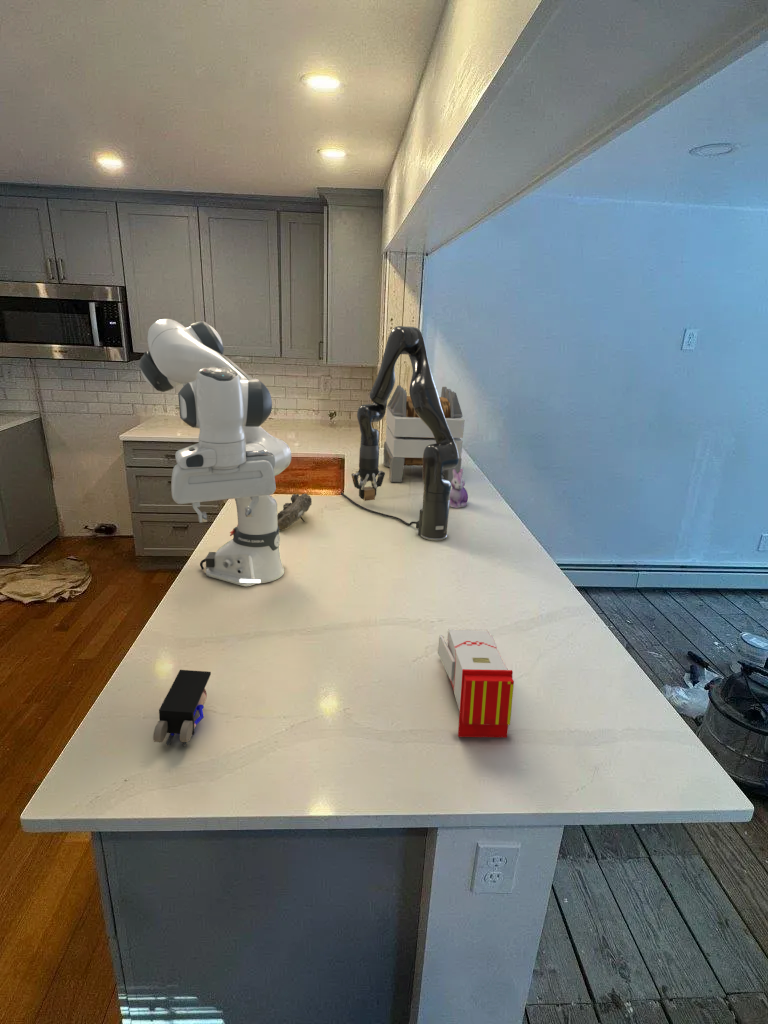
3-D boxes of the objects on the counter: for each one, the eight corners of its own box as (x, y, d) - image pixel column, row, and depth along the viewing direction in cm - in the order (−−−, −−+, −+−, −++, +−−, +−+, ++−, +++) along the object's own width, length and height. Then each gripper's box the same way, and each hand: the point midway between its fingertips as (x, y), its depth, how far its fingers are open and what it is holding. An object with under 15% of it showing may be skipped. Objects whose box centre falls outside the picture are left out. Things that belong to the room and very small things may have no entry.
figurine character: (193, 760, 99) (215, 697, 113) (188, 728, 96) (211, 667, 109) (154, 759, 99) (181, 696, 113) (148, 727, 96) (176, 666, 109)
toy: (488, 613, 130) (523, 677, 101) (484, 667, 133) (517, 744, 104) (435, 612, 130) (455, 676, 101) (432, 666, 133) (451, 743, 103)
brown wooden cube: (374, 499, 224) (375, 489, 223) (364, 500, 222) (365, 490, 221) (369, 496, 228) (370, 486, 226) (360, 497, 226) (360, 487, 224)
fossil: (280, 499, 216) (309, 478, 211) (296, 518, 219) (326, 498, 214) (263, 525, 196) (295, 503, 191) (282, 546, 199) (314, 524, 194)
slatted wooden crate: (382, 463, 289) (386, 382, 275) (445, 464, 293) (451, 384, 279) (390, 482, 257) (394, 392, 243) (460, 483, 261) (468, 394, 247)
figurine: (454, 509, 226) (458, 473, 221) (440, 502, 235) (443, 467, 229) (474, 507, 230) (477, 471, 225) (459, 499, 239) (463, 465, 234)
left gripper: (270, 445, 118) (272, 508, 123) (166, 452, 110) (172, 519, 114) (279, 453, 113) (280, 517, 118) (171, 460, 104) (177, 530, 109)
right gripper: (381, 452, 225) (379, 492, 231) (348, 454, 219) (347, 496, 225) (389, 456, 219) (387, 498, 225) (356, 459, 213) (354, 502, 219)
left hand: (226, 518), depth 116 cm, fingers open, 8 cm apart
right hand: (367, 497), depth 225 cm, fingers closed on brown wooden cube, 4 cm apart
